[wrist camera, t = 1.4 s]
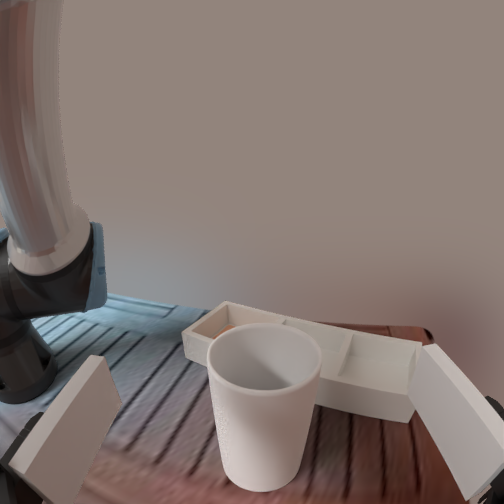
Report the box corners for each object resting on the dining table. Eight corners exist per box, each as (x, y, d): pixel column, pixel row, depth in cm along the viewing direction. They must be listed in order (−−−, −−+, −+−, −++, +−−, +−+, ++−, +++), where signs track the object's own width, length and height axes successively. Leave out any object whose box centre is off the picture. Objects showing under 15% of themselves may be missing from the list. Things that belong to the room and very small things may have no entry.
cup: (209, 451, 25) (188, 341, 20) (270, 423, 30) (275, 312, 25) (250, 504, 19) (246, 412, 14) (315, 466, 23) (346, 358, 18)
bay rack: (185, 357, 42) (181, 332, 40) (227, 323, 52) (226, 299, 51) (407, 423, 26) (421, 397, 25) (412, 366, 37) (421, 341, 35)
